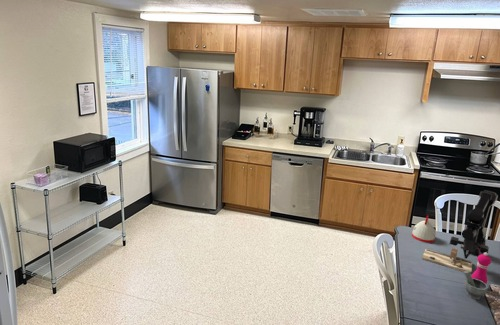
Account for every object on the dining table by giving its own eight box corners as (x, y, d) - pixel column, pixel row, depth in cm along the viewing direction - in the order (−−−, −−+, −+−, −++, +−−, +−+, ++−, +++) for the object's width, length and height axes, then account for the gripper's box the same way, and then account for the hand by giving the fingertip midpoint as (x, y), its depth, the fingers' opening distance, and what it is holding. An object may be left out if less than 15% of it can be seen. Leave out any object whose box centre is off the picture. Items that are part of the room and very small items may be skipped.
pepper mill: (487, 291, 185) (497, 257, 180) (472, 289, 187) (481, 255, 181) (482, 283, 192) (490, 250, 187) (467, 281, 194) (475, 248, 188)
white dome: (435, 236, 242) (440, 215, 238) (433, 244, 231) (437, 223, 227) (413, 230, 249) (417, 210, 245) (410, 238, 238) (414, 217, 234)
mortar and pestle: (485, 294, 183) (491, 274, 180) (483, 304, 176) (489, 283, 172) (460, 286, 189) (465, 265, 186) (457, 294, 182) (462, 273, 179)
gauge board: (425, 249, 224) (426, 246, 223) (472, 263, 211) (473, 260, 210) (422, 259, 214) (422, 255, 213) (470, 273, 201) (471, 270, 200)
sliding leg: (450, 254, 216) (452, 247, 215) (456, 256, 215) (457, 249, 213) (448, 262, 207) (450, 255, 206) (454, 264, 206) (456, 256, 204)
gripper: (451, 234, 203) (446, 259, 207) (490, 244, 193) (484, 270, 197) (453, 227, 212) (448, 250, 216) (491, 236, 202) (484, 261, 206)
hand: (465, 258), depth 209 cm, fingers closed
